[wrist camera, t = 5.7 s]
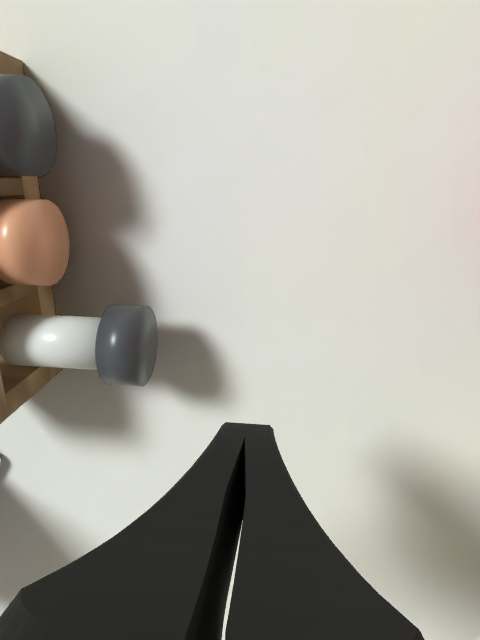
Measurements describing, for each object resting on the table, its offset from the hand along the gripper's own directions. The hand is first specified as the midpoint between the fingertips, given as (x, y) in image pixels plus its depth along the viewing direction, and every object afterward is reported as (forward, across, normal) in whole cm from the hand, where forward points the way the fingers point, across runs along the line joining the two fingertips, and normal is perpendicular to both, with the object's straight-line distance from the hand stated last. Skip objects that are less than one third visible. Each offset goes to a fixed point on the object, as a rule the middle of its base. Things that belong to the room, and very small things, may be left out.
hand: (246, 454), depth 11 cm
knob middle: (+9, +12, -5) cm, 16 cm away
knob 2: (+9, +8, 0) cm, 12 cm away
